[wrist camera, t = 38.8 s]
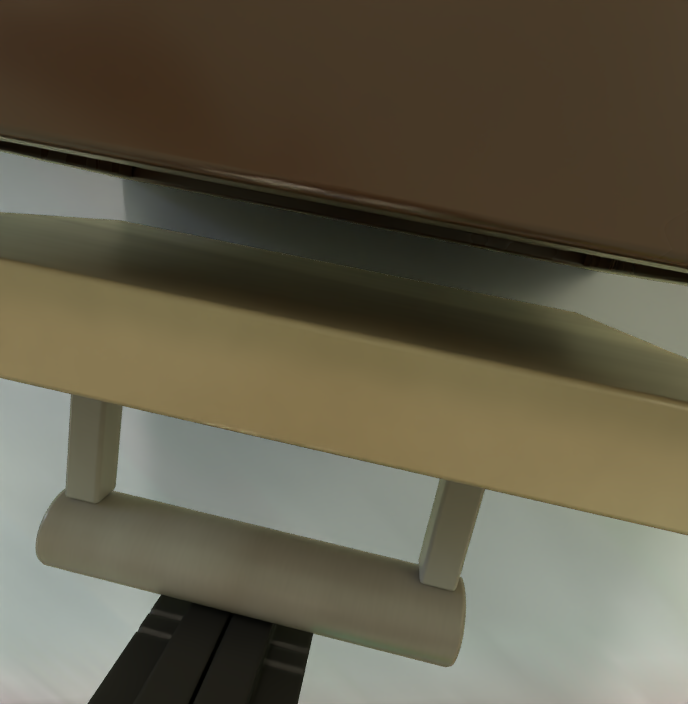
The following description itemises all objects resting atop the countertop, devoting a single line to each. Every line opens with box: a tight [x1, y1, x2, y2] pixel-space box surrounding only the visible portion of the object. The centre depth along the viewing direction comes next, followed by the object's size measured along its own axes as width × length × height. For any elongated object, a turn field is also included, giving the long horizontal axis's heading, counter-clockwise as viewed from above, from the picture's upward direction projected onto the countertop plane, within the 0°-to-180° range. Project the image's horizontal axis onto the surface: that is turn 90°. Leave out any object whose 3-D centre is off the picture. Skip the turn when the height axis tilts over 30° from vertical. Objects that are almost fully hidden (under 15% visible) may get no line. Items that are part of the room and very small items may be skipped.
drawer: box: [0, 166, 688, 667], centre depth 7 cm, size 18×11×8 cm, turn 169°
